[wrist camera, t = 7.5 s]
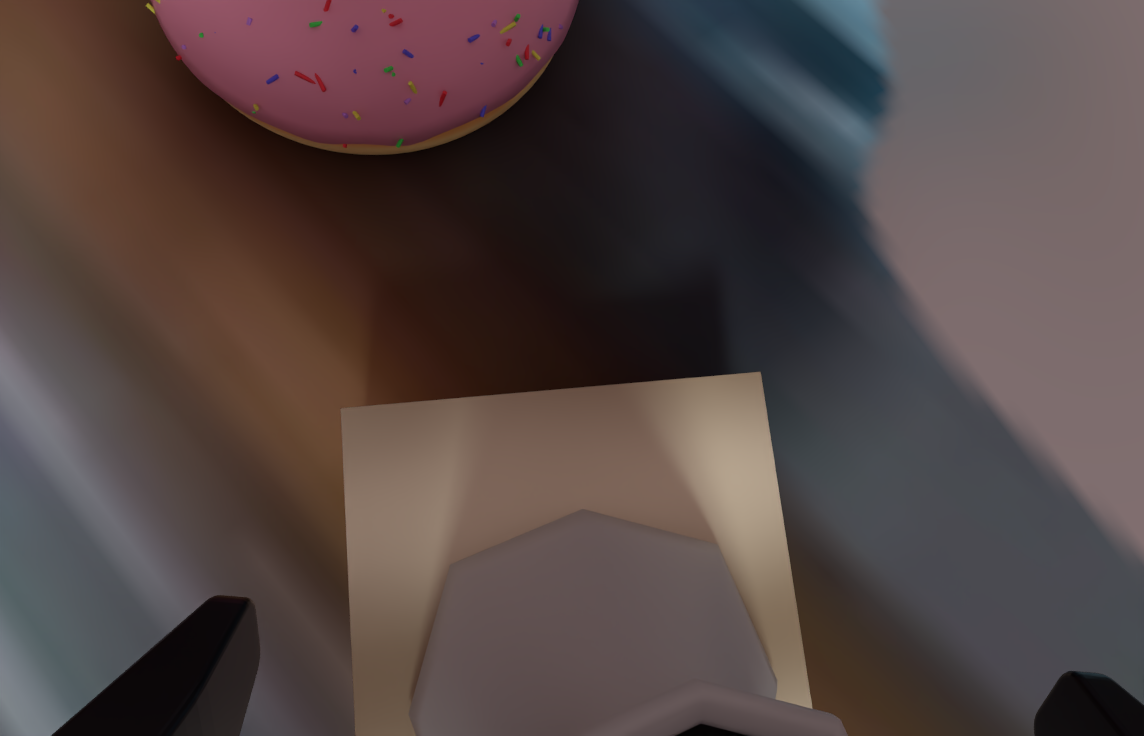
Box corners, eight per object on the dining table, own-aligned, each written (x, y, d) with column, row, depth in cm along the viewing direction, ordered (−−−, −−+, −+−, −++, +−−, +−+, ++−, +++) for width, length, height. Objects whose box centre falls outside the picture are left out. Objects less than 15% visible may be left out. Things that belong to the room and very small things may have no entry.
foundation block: (801, 924, 19) (856, 992, 16) (392, 987, 18) (370, 1071, 15) (725, 397, 21) (760, 371, 18) (364, 429, 20) (340, 408, 17)
